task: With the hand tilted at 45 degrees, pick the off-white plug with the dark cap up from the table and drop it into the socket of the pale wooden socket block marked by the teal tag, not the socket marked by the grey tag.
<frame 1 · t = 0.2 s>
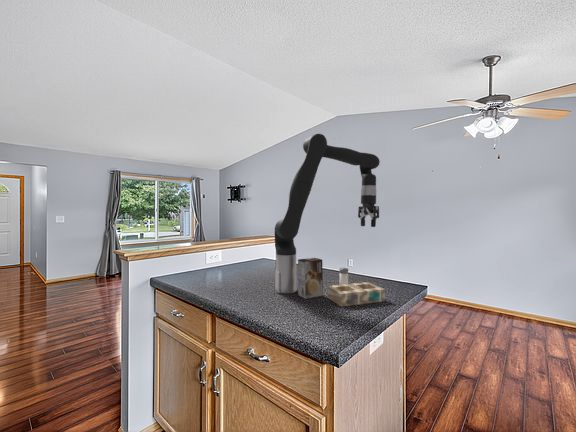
hand: (367, 226, 147), 29 cm above the worktop, tool pointing down, fingers open, 8 cm apart
coffee box: (310, 296, 126), on the worktop
socket block: (355, 299, 121), on the worktop
plug: (343, 289, 135), on the worktop
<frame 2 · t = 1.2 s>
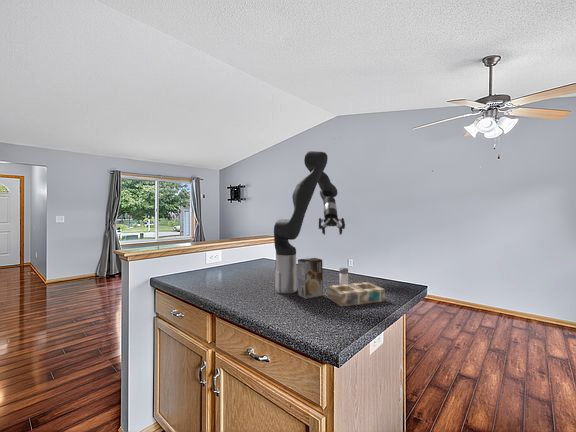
hand: (332, 233, 153), 25 cm above the worktop, tool tilted 45°, fingers open, 8 cm apart
nothing on the worktop moved.
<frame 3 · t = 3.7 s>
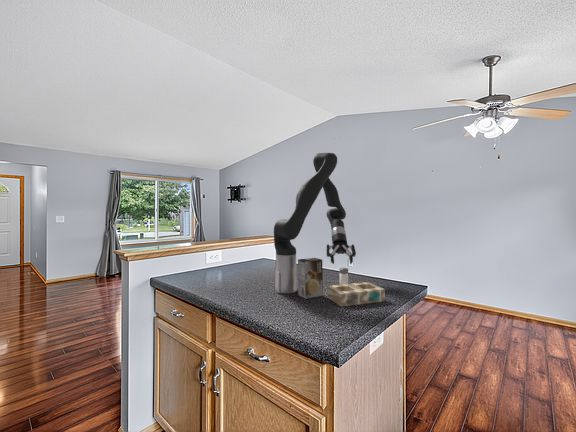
hand: (342, 262, 139), 12 cm above the worktop, tool tilted 45°, fingers open, 8 cm apart
nothing on the worktop moved.
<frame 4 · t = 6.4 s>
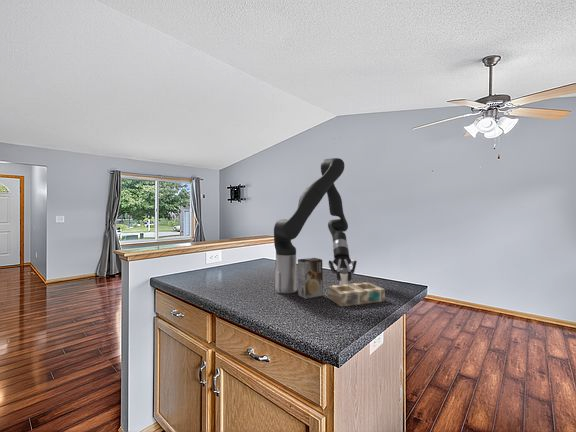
hand: (344, 280, 133), 5 cm above the worktop, tool tilted 45°, fingers closed on plug, 4 cm apart
plug: (343, 289, 135), on the worktop, touching gripper
everything else where it was.
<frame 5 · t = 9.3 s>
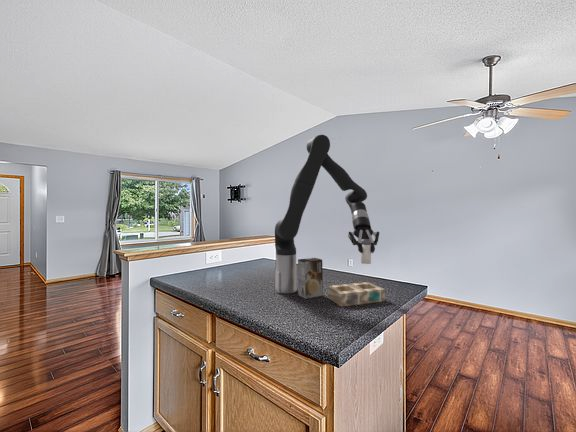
hand: (367, 251, 120), 20 cm above the worktop, tool tilted 45°, fingers closed on plug, 4 cm apart
plug: (366, 263, 122), point 15 cm above the worktop, touching gripper
everything else where it was.
when the fingers open (8 cm above the worktop, at t = 12.3 s): plug drops 3 cm, resting in socket block.
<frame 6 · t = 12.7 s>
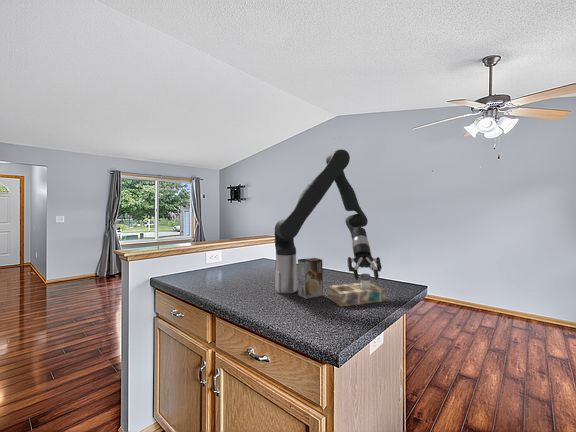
hand: (366, 279, 120), 9 cm above the worktop, tool tilted 45°, fingers open, 7 cm apart
plug: (365, 298, 122), resting in socket block
everything else where it was.
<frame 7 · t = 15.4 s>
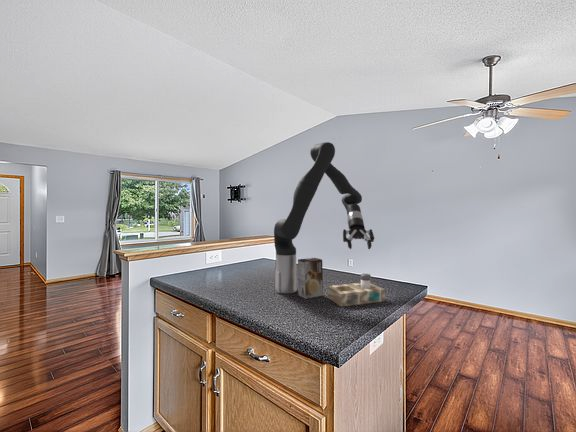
hand: (360, 248, 132), 20 cm above the worktop, tool tilted 45°, fingers open, 8 cm apart
nothing on the worktop moved.
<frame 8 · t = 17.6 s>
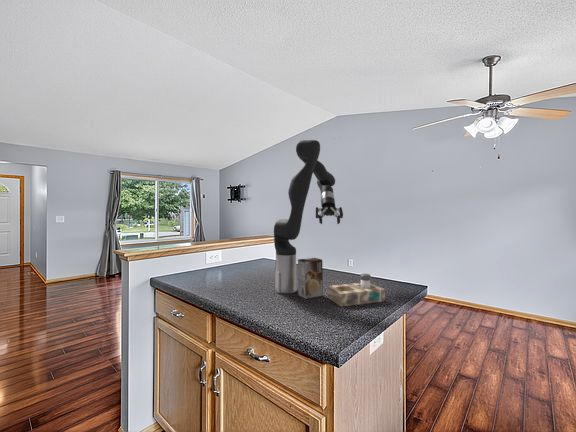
hand: (329, 223, 147), 31 cm above the worktop, tool tilted 45°, fingers open, 8 cm apart
nothing on the worktop moved.
at the end: plug 0.3 cm from the target spot on the socket block, point 0.0 cm above the socket block's base; plug tilted 0°; the gripper is holding nothing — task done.
